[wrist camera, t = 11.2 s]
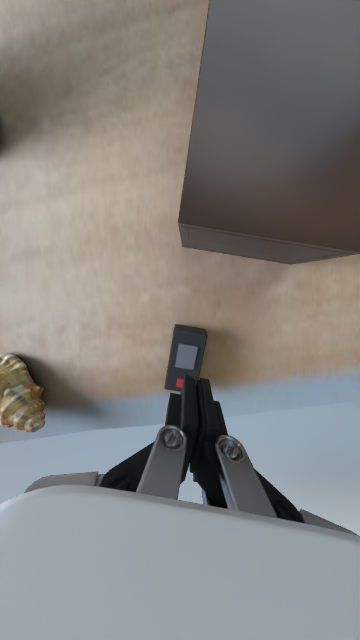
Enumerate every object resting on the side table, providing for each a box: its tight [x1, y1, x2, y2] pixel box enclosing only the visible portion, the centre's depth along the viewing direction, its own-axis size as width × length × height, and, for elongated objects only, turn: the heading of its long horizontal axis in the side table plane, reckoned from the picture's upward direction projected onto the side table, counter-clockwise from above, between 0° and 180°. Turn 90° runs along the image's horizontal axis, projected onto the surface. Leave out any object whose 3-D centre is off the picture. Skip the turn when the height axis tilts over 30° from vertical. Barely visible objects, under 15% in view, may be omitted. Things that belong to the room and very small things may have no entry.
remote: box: [165, 324, 207, 392], centre depth 23 cm, size 8×4×3 cm, turn 171°
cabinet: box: [178, 0, 360, 264], centre depth 15 cm, size 16×14×9 cm
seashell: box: [0, 354, 45, 432], centre depth 24 cm, size 9×8×10 cm
